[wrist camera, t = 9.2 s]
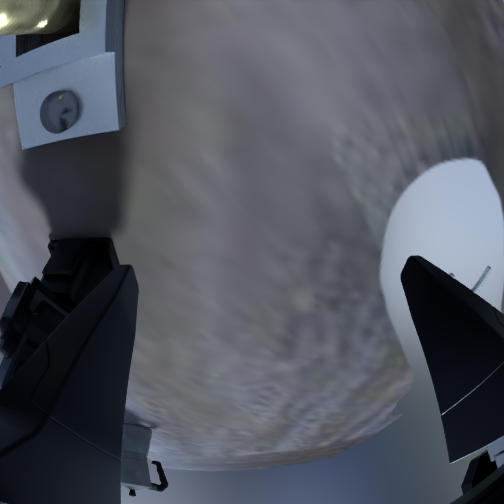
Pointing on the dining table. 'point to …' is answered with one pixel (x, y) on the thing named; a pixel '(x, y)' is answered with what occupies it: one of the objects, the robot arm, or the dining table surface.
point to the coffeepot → (138, 460)
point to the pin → (39, 16)
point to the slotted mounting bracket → (68, 77)
